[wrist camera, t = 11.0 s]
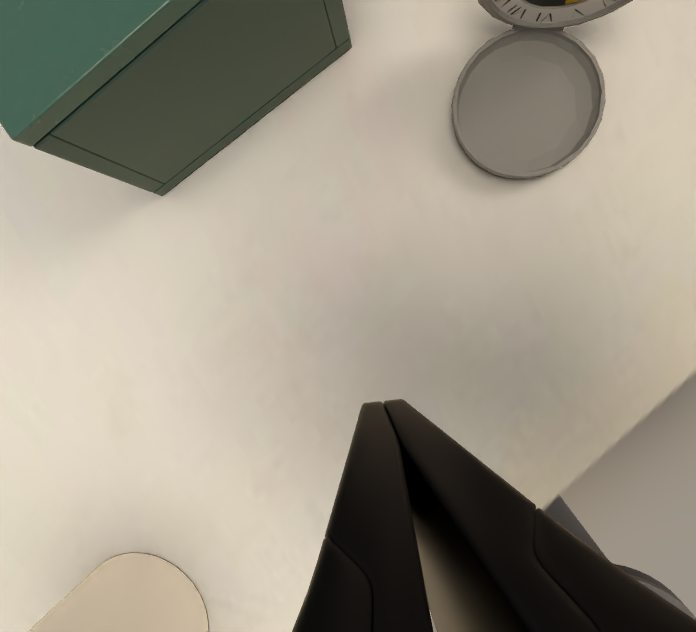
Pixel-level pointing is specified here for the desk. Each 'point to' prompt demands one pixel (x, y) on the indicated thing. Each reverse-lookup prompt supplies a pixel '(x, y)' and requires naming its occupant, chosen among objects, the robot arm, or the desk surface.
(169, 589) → the cup
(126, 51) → the lid
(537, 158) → the pocket watch
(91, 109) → the panel
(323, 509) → the desk surface
